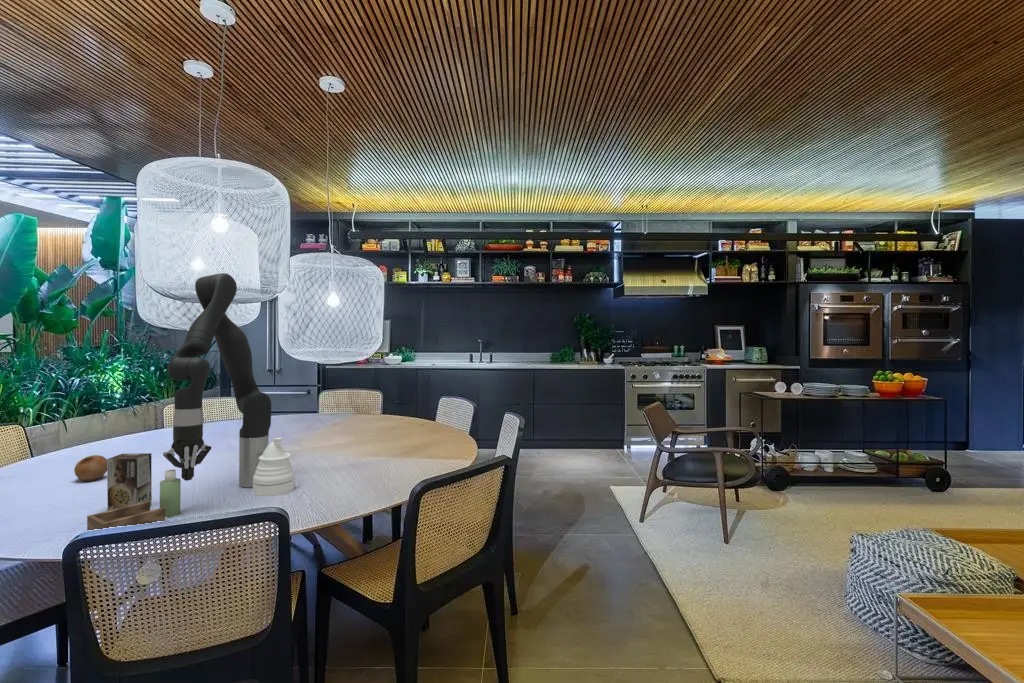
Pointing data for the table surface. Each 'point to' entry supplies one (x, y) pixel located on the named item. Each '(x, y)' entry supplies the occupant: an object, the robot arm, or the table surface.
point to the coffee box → (129, 480)
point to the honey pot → (273, 471)
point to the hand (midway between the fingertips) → (187, 479)
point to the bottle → (170, 493)
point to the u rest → (126, 516)
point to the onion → (91, 468)
